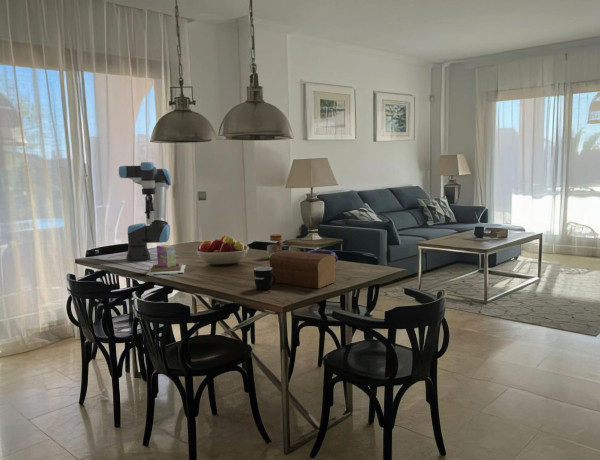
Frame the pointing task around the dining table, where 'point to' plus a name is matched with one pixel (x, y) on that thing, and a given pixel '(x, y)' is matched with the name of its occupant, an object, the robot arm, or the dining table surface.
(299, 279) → the wooden bread box
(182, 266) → the white shallow tray
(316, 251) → the bowl
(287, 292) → the dining table surface
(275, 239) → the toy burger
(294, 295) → the dining table surface
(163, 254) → the box
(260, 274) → the mug
